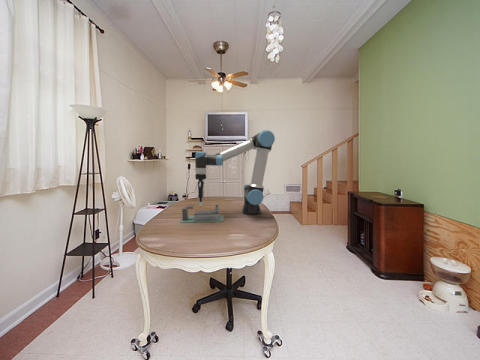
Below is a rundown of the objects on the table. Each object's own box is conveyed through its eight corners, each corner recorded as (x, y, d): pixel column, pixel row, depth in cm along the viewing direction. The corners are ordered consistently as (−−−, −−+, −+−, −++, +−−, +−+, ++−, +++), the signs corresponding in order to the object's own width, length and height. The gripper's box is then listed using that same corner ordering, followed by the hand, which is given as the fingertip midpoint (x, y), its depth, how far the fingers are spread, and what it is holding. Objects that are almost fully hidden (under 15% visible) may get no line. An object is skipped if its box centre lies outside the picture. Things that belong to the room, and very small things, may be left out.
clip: (194, 217, 155) (193, 205, 154) (193, 220, 149) (192, 207, 148) (184, 217, 155) (183, 205, 154) (182, 220, 149) (182, 207, 148)
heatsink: (218, 215, 159) (218, 204, 158) (218, 220, 148) (218, 208, 147) (196, 216, 158) (195, 204, 157) (194, 221, 147) (193, 208, 146)
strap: (217, 209, 155) (218, 208, 155) (217, 211, 151) (217, 209, 151) (195, 206, 153) (195, 204, 153) (194, 207, 149) (195, 205, 149)
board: (223, 215, 161) (223, 215, 161) (223, 221, 148) (223, 220, 148) (183, 217, 158) (183, 216, 158) (180, 223, 145) (180, 222, 145)
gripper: (196, 172, 155) (196, 203, 158) (194, 174, 142) (194, 208, 145) (206, 172, 156) (206, 203, 158) (205, 174, 143) (205, 208, 146)
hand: (200, 205), depth 152 cm, fingers closed
